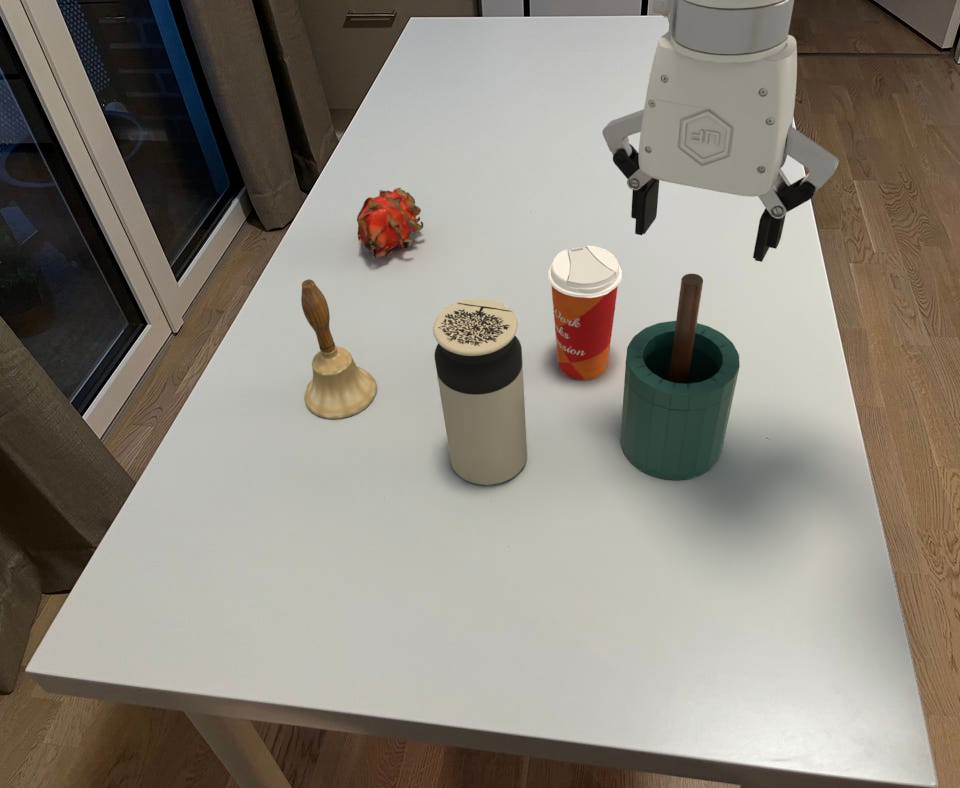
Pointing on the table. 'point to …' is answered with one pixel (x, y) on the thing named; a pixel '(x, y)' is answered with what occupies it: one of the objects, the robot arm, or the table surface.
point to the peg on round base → (685, 327)
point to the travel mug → (481, 389)
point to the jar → (677, 402)
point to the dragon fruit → (388, 221)
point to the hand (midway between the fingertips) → (702, 238)
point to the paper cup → (584, 308)
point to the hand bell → (332, 366)
